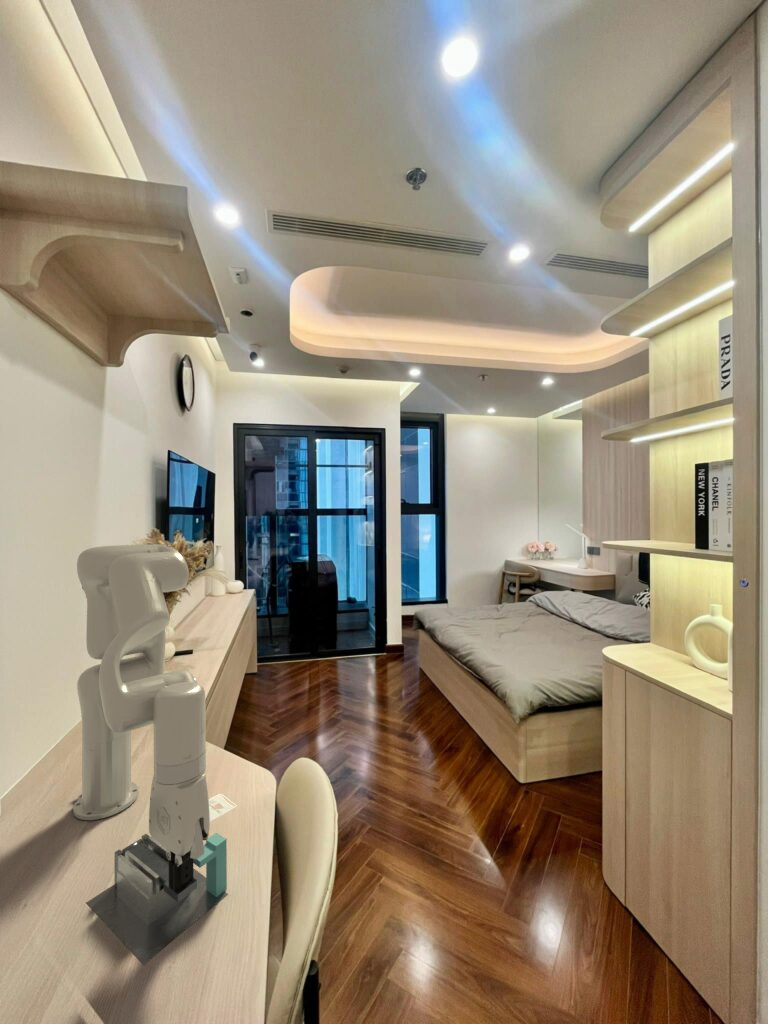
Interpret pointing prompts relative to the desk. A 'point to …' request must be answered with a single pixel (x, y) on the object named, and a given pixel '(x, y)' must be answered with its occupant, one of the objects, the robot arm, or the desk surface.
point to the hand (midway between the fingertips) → (181, 882)
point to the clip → (214, 864)
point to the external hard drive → (221, 800)
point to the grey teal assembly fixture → (148, 904)
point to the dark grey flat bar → (159, 869)
